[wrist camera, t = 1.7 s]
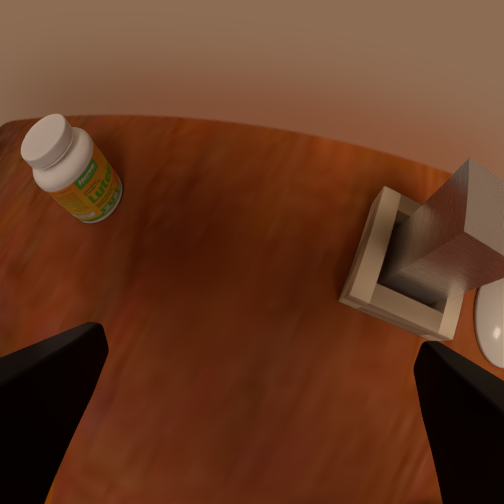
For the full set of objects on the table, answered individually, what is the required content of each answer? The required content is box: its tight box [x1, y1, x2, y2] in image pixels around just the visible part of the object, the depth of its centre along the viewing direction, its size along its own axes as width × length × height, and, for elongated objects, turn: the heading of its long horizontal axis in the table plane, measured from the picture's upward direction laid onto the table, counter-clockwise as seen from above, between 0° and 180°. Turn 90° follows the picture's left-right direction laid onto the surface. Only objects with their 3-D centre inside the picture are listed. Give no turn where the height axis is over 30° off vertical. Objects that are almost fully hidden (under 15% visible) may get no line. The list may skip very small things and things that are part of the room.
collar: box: [338, 186, 464, 341], centre depth 21 cm, size 9×9×3 cm
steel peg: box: [376, 158, 504, 305], centre depth 17 cm, size 4×4×12 cm
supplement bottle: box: [21, 114, 122, 223], centre depth 21 cm, size 5×5×10 cm
